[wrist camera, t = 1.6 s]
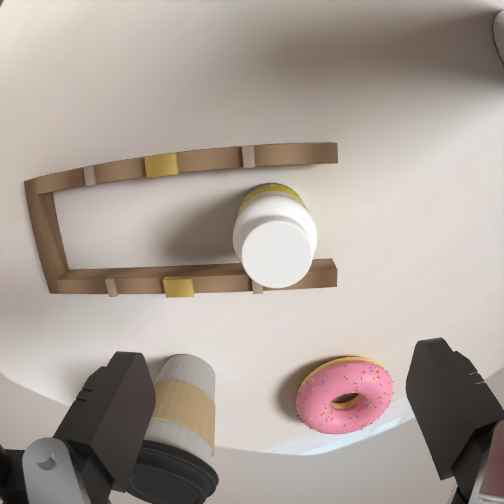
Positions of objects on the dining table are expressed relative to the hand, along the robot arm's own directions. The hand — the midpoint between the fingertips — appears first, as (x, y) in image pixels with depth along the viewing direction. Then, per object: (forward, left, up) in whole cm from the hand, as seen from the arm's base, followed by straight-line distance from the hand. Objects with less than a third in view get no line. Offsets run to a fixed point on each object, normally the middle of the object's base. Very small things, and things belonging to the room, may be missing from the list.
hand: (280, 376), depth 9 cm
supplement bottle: (0, 0, -20) cm, 20 cm away
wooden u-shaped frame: (+8, 0, -19) cm, 21 cm away
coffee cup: (+10, +17, -20) cm, 28 cm away
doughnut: (-7, +20, -20) cm, 29 cm away
